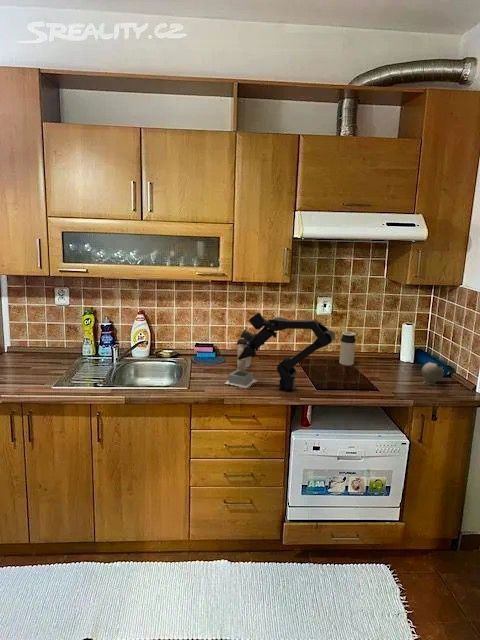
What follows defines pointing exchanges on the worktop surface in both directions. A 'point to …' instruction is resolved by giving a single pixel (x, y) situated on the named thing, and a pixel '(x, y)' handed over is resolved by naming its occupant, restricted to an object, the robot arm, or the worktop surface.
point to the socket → (241, 379)
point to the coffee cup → (248, 359)
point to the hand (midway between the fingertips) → (238, 357)
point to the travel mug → (347, 348)
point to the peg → (242, 362)
